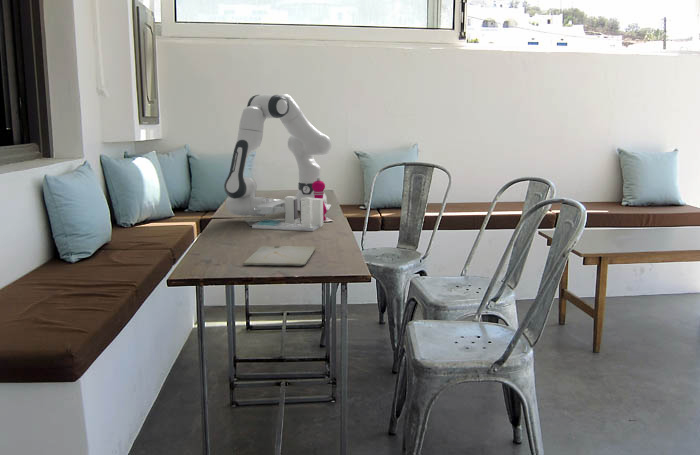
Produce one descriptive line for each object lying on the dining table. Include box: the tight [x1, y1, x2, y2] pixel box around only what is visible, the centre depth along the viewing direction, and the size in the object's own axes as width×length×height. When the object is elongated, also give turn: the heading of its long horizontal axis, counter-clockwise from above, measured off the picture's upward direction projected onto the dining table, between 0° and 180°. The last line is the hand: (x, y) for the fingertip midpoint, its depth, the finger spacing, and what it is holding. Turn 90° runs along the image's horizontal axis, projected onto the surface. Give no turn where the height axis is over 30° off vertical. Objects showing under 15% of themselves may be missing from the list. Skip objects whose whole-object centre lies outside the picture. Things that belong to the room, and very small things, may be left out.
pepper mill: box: [312, 177, 328, 222], centre depth 288 cm, size 7×7×20 cm
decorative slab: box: [243, 245, 317, 267], centre depth 217 cm, size 27×21×2 cm
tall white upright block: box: [284, 195, 299, 223], centre depth 282 cm, size 4×5×12 cm
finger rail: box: [251, 197, 320, 232], centre depth 270 cm, size 8×28×14 cm, turn 74°
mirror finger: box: [313, 198, 324, 228], centre depth 274 cm, size 4×5×12 cm
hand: (288, 207), depth 282 cm, fingers open, 8 cm apart
